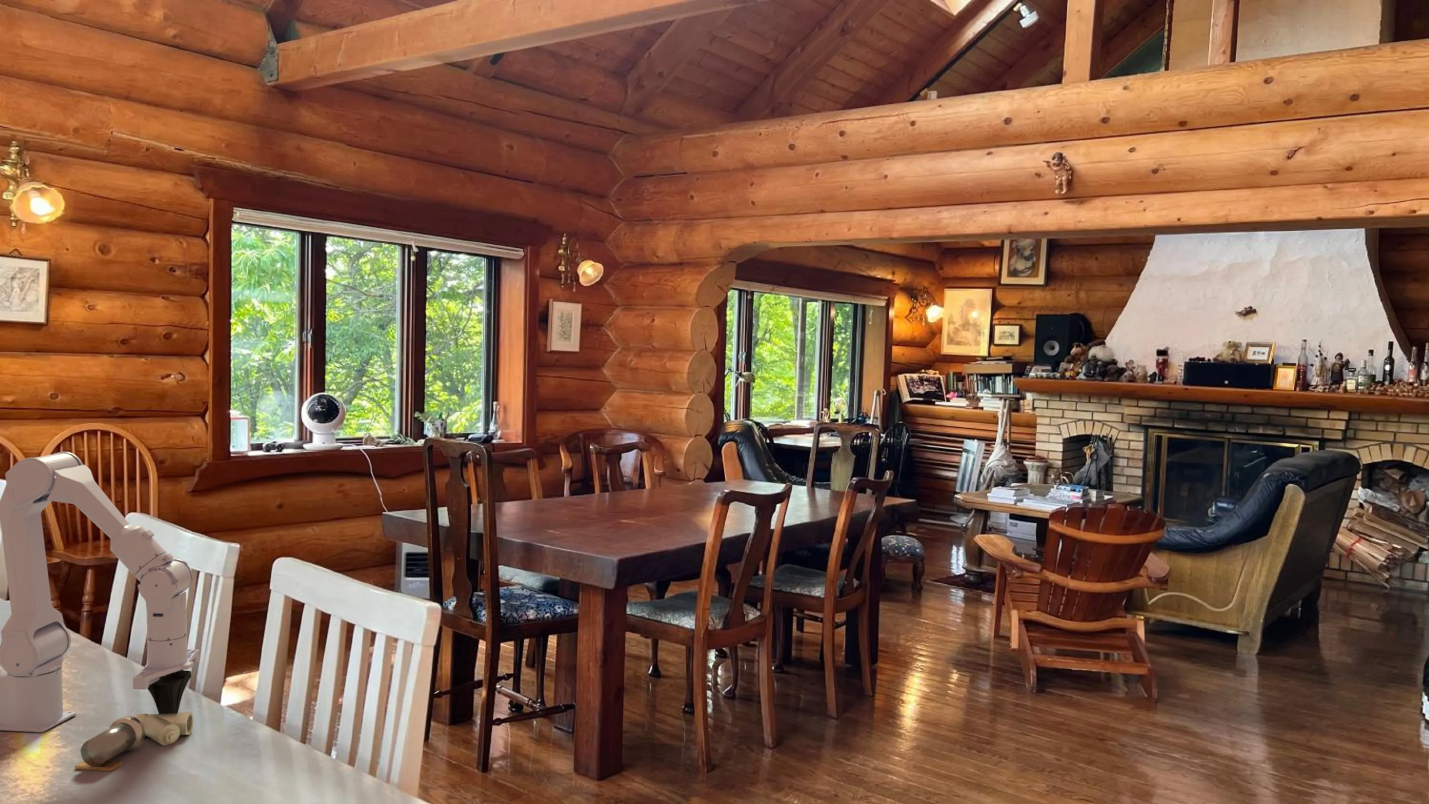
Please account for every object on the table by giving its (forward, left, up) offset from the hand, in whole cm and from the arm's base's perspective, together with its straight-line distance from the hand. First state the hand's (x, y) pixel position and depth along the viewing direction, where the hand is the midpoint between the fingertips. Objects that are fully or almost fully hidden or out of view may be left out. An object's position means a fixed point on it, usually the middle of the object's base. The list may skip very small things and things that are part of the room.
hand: (168, 717), depth 167 cm
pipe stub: (0, -14, -1) cm, 14 cm away
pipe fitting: (+2, -6, -2) cm, 7 cm away
